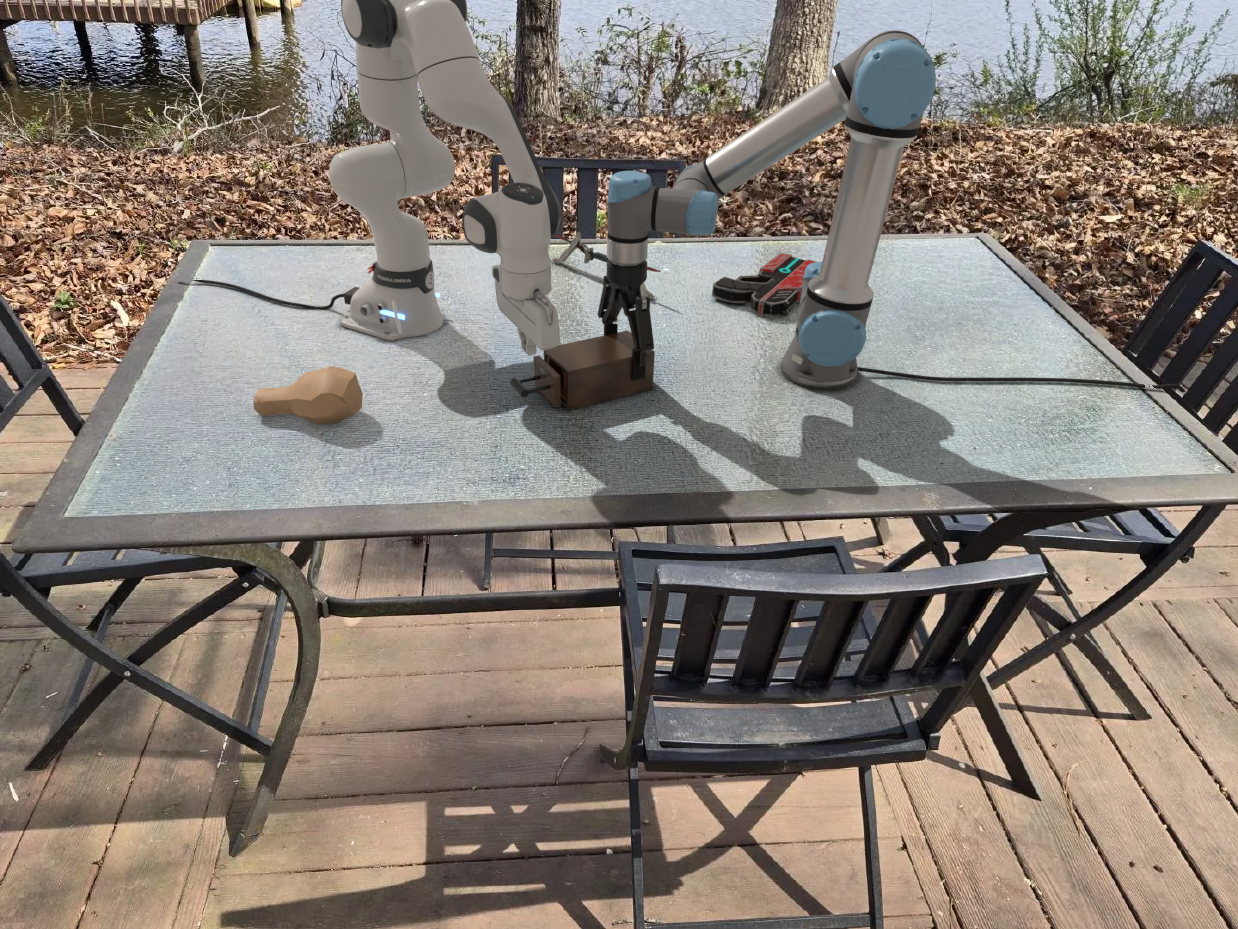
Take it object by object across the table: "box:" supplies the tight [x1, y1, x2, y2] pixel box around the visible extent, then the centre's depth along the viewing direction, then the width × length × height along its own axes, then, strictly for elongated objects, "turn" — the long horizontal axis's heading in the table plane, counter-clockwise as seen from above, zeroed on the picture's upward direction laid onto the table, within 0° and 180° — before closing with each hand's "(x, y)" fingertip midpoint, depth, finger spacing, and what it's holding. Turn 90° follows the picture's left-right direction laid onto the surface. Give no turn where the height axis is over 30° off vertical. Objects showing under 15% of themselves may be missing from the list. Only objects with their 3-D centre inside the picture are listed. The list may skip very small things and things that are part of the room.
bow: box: [551, 231, 662, 300], centre depth 217 cm, size 39×2×10 cm, turn 47°
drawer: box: [509, 355, 566, 408], centre depth 168 cm, size 24×10×6 cm, turn 119°
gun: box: [711, 252, 817, 318], centre depth 215 cm, size 4×31×19 cm
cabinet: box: [543, 330, 656, 411], centre depth 171 cm, size 19×11×8 cm, turn 119°
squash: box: [252, 365, 363, 426], centre depth 159 cm, size 11×20×9 cm, turn 90°
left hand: (528, 351), depth 161 cm, fingers closed
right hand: (623, 366), depth 174 cm, fingers closed on cabinet, 11 cm apart
